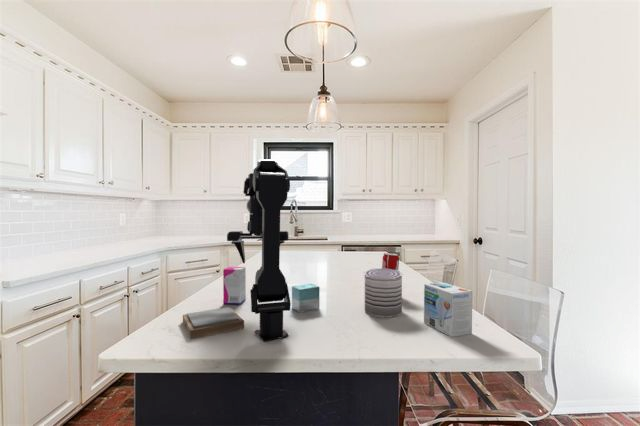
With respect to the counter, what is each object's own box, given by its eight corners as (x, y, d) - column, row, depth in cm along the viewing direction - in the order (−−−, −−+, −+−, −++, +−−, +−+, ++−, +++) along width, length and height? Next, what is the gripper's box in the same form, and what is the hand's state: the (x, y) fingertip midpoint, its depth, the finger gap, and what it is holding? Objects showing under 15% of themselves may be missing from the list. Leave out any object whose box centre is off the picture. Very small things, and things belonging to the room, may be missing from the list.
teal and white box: (311, 305, 103) (311, 283, 103) (319, 309, 99) (319, 286, 99) (291, 308, 99) (291, 286, 99) (299, 313, 95) (299, 289, 95)
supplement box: (246, 300, 109) (246, 266, 108) (240, 305, 103) (240, 269, 102) (229, 299, 109) (229, 266, 109) (222, 304, 103) (222, 269, 103)
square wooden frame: (244, 328, 83) (244, 318, 82) (190, 338, 76) (190, 328, 76) (230, 314, 94) (230, 305, 94) (182, 322, 87) (182, 313, 87)
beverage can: (377, 294, 116) (377, 252, 116) (393, 292, 118) (393, 252, 118) (385, 298, 110) (385, 255, 110) (402, 296, 112) (402, 254, 112)
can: (408, 310, 98) (408, 271, 97) (391, 320, 89) (391, 277, 89) (375, 303, 105) (375, 266, 105) (356, 312, 96) (356, 272, 96)
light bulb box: (422, 323, 87) (423, 283, 87) (442, 320, 89) (442, 281, 89) (451, 337, 77) (452, 293, 77) (473, 334, 79) (473, 290, 79)
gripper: (288, 213, 110) (289, 259, 110) (233, 214, 109) (233, 259, 109) (287, 213, 99) (288, 264, 99) (226, 214, 98) (226, 265, 97)
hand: (258, 263), depth 101 cm, fingers open, 9 cm apart
